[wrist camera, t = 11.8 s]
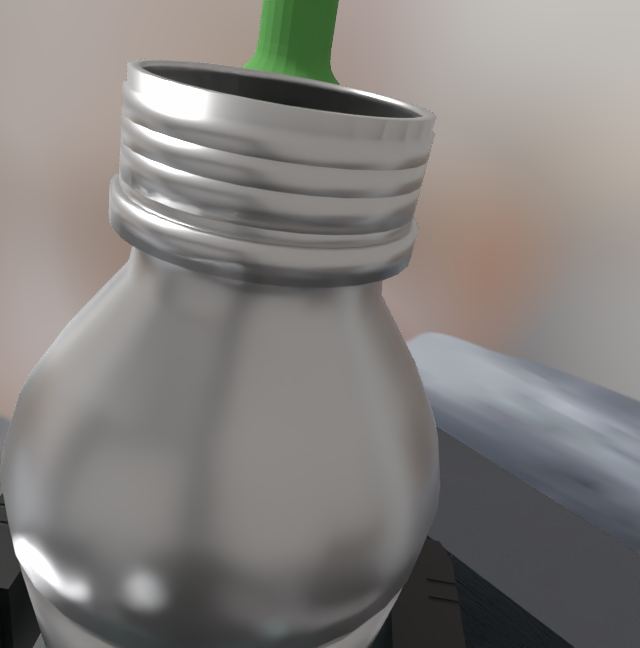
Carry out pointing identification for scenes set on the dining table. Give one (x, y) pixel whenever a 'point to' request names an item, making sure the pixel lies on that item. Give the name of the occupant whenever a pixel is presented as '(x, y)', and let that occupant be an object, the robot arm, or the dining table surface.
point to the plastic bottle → (234, 379)
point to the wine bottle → (296, 39)
